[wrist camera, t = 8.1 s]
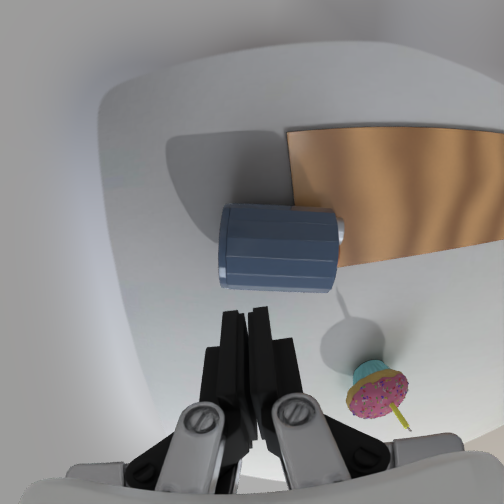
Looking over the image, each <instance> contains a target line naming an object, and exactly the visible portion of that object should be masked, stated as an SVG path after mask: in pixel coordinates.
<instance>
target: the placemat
mask: <svg viewBox="0 0 504 504" xmlns="http://www.w3.org/2000/svg"><path fill="white" fill-rule="evenodd" d="M286 134H287V142H288V150H289V159H290V167H291V176H292V186H293V195H294V205H295V206H304V207H320V208H332V210H333V211H334V212H335V214H336V217H341V218H343V220H344V237H343V241H342V243H341V244H340V245H339V246H340V249H341V254H340V261H339V264H338V267H344V266H351V265H357V264H364V263H370V262H377V261H383V260H389V259H396V258H402V257H408V256H414V255H420V254H426V253H432V252H437V251H443V250H449V249H454V248H460V247H466V246H471V245H477V244H482V243H487V242H493V241H498V240H503V239H504V134H502V133H494V132H485V131H475V130H463V129H449V128H430V127H354V128H333V129H318V130H305V131H294V132H286Z"/></svg>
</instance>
